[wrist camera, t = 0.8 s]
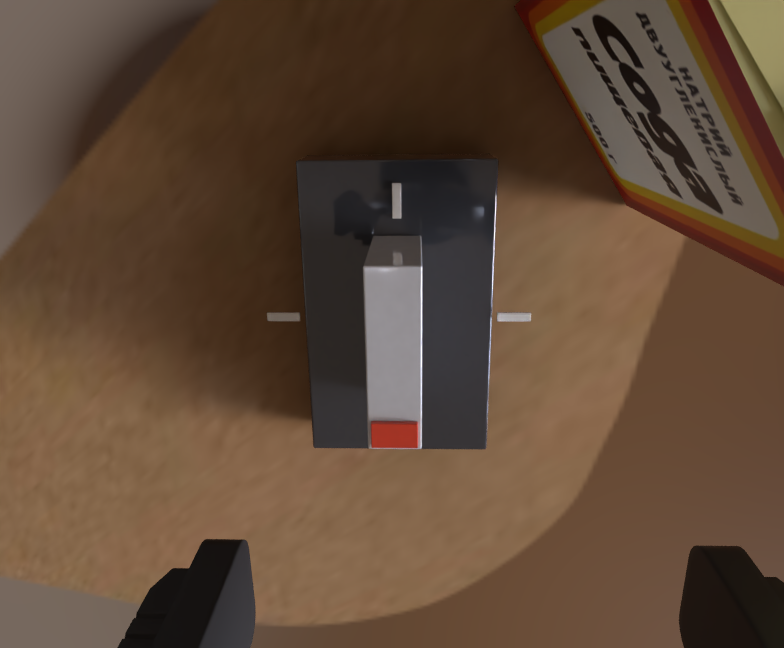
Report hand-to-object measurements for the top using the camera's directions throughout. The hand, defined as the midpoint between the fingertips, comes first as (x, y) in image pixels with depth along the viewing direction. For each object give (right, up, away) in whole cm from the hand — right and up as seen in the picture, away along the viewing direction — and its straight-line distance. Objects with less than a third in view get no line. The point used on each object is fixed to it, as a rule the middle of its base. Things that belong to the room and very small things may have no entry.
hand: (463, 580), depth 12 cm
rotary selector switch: (-1, +6, +18) cm, 19 cm away
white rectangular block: (-1, +5, +15) cm, 16 cm away
